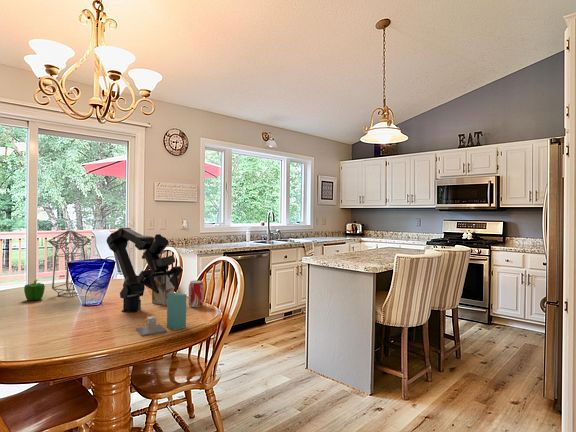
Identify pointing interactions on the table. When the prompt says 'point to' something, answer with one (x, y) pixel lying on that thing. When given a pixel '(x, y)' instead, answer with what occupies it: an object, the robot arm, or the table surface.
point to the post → (151, 323)
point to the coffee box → (162, 289)
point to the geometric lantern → (67, 256)
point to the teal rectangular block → (176, 311)
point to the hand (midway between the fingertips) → (168, 291)
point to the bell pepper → (34, 291)
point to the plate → (145, 332)
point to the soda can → (196, 293)
